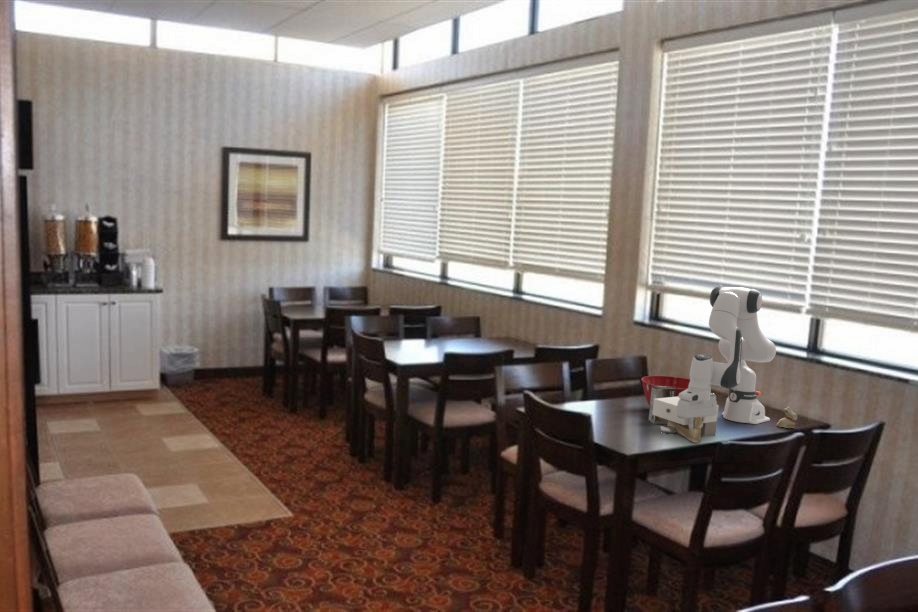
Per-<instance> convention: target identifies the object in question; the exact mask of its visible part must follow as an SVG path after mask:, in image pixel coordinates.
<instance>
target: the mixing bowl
mask: <svg viewBox="0 0 918 612" xmlns="http://www.w3.org/2000/svg"><path fill="white" fill-rule="evenodd" d="M640 379H641V383H642V388H643V393H644V396H645V399H646V402H647V404H648V406H649V407H650V400H651V388H652V386H670V387H673V388H675V389H676V395H675V397H678V396H679V393H681V392H683V391H684V390H686V389H687V388H688V386H689V383H690V378H685V377H680V376H672V375H669V376H668V375H648V376H643V377H641V378H640Z"/></svg>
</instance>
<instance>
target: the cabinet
mask: <svg viewBox="0 0 918 612" xmlns="http://www.w3.org/2000/svg"><path fill="white" fill-rule="evenodd" d="M680 399H681V398H679V396H678V397H667V398H656V399H654V403H653V414H652V415H655V416H658V417H661V418H664V419H667V420H670V421H673V422H676V423H679V424H681V425H683V426H685V427H687V428H688V429H689V423H688V420H687V419H682V418H679V417H678V416H677V405H678V401H679V400H680ZM719 406H720V405H718V404H717V413H716V415H715V416H706V419H705V421H704V423H703V427H701V436H700V437H710V436H716V433H717V424H718V416H719V415H718V414H719Z"/></svg>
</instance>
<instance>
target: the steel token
mask: <svg viewBox="0 0 918 612" xmlns="http://www.w3.org/2000/svg"><path fill="white" fill-rule="evenodd" d="M659 432H660V433H661V432H662V433H661V434H663V433H665V434H664V435H668V434H673V435H675V434H676V432H675V427H673V426H670V425H668V424H660V430H659Z"/></svg>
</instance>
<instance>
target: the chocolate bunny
mask: <svg viewBox="0 0 918 612" xmlns="http://www.w3.org/2000/svg"><path fill="white" fill-rule="evenodd" d="M783 412H784V414H785V416H784V417H783V418H780V419H779V420H778V422H777V423H776V424H775V426H779V427H778V428H780V427H785V428H794V429H795V425H796V424H797V422H796V421H797V420H798V414H797V413H795V412H794V411H793V410H792V408H791V407H790V406H787V407H786V408H783ZM785 428H784V429H785Z"/></svg>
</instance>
